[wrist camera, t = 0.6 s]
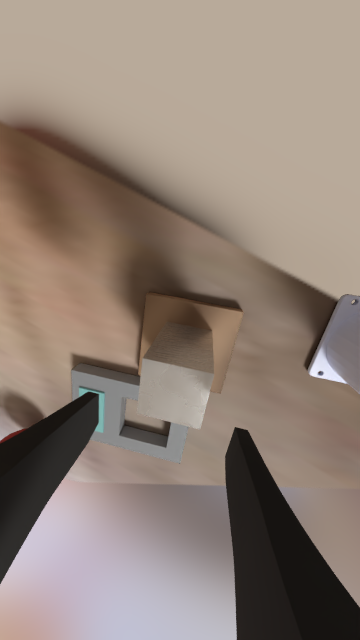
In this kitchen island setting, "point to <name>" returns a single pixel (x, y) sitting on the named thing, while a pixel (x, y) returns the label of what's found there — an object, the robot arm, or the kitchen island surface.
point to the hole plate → (112, 413)
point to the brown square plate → (195, 315)
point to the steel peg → (177, 375)
